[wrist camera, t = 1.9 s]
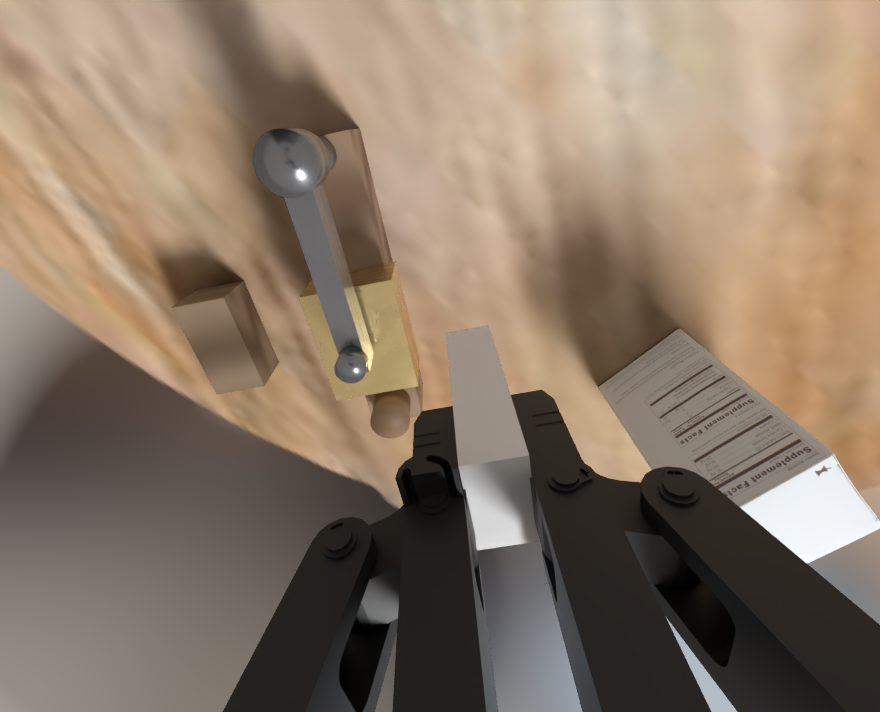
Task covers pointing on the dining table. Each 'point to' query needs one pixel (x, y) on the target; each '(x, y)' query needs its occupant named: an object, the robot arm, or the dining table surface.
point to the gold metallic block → (370, 333)
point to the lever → (317, 238)
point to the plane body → (365, 255)
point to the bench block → (227, 336)
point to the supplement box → (737, 446)
